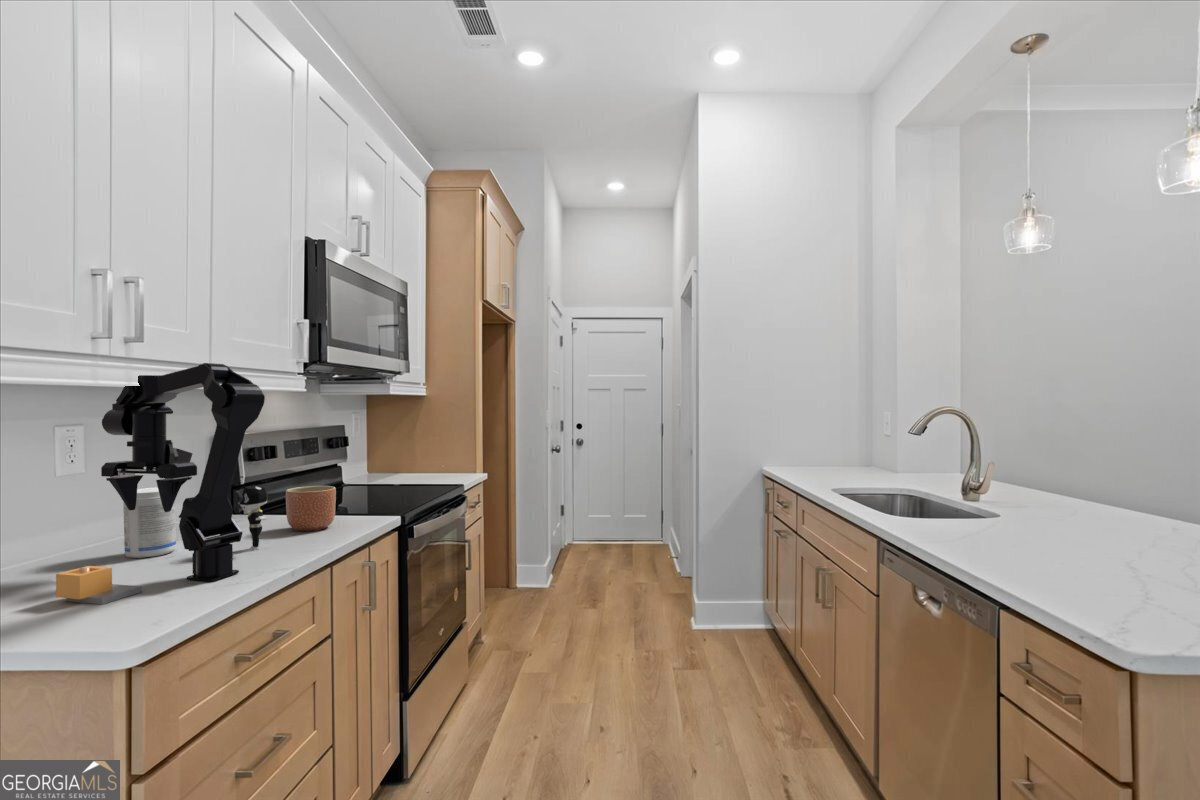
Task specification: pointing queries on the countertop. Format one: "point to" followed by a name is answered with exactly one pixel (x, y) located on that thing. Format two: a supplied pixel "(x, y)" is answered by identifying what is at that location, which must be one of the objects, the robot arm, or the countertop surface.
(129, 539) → the supplement tub
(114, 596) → the grey base with peg
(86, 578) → the open tan tray box
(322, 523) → the planter
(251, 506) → the toy
